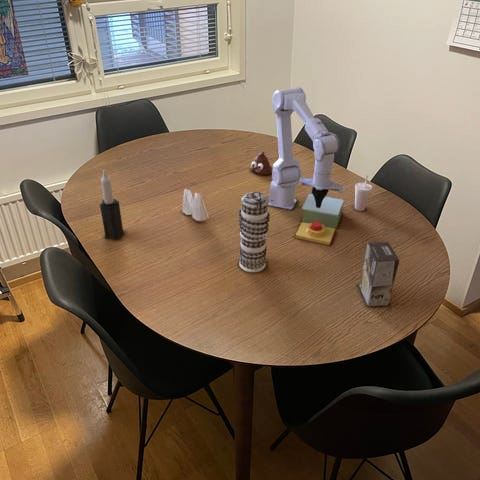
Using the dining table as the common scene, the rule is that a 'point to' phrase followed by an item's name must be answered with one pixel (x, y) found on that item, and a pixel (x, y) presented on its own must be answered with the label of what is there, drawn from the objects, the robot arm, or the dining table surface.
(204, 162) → the dining table surface
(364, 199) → the smoothie
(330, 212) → the pale blue lid
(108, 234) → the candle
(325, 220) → the panel
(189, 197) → the shaker set
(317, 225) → the button
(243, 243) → the plaid banded cylinder
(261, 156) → the cartoon dung pile
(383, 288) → the coffee box
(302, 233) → the yellow button base
